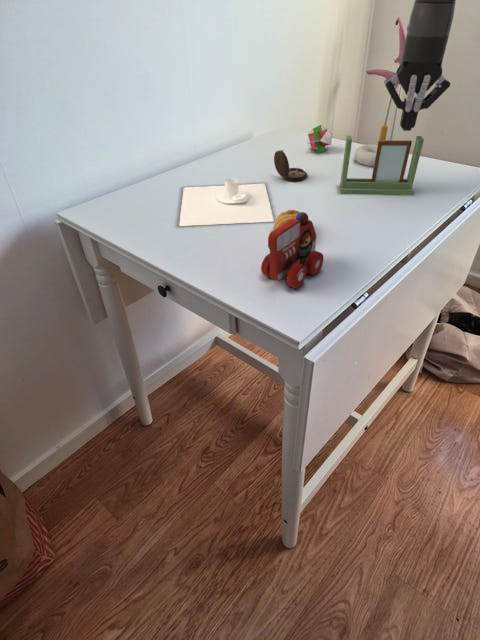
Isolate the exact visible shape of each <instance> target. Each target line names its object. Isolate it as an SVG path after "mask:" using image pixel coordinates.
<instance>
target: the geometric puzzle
mask: <svg viewBox="0 0 480 640" xmlns="http://www.w3.org/2000/svg"><path fill="white" fill-rule="evenodd" d="M322 127H323V128H325V126H324V125H322V124H320V125H318V126H316V127H313V128H312V130H310V132H309V133H307V137H308V139H307V141H306V142H307V143H306V145H307V146H308V147H310V149H311V150H315V149H316V151H317V154H318V155H319V154H320V153H322V152H325V151H326V150H327V149H328V148H329V147H330V146H332V143H333V135H332V133H331V131H330V130H329V128H325V129H323V128H322Z"/></svg>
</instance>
